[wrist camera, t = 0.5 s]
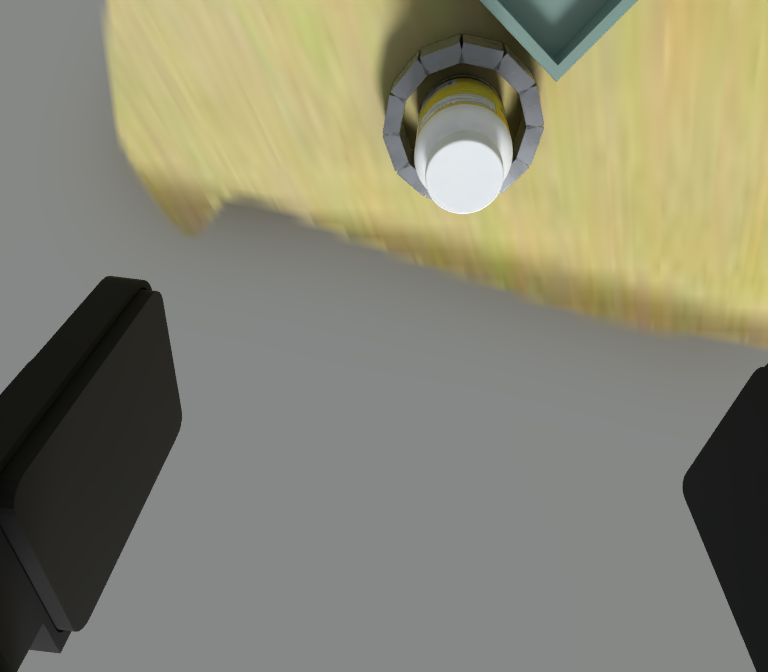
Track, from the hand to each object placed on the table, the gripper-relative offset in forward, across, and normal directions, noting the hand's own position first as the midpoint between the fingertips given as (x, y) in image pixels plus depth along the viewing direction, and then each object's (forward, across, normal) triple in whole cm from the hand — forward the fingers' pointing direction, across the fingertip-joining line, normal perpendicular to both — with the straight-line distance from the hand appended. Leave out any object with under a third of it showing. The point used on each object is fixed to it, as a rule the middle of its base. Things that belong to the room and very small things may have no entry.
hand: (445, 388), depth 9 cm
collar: (+31, -2, +5) cm, 31 cm away
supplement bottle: (+31, -2, +5) cm, 31 cm away
